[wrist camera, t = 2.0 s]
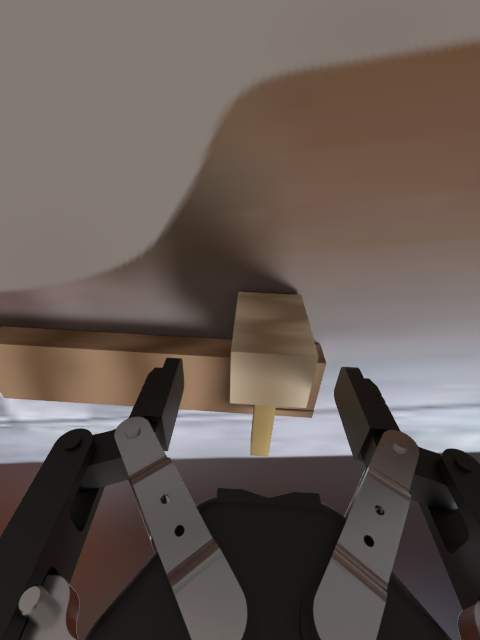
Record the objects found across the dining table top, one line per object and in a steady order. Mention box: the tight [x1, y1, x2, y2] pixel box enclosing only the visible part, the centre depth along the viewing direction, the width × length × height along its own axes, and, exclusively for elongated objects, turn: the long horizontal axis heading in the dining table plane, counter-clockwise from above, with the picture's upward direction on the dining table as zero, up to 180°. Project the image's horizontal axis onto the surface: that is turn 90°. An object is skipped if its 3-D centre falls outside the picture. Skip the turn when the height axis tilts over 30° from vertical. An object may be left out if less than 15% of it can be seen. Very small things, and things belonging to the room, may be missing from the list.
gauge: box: [230, 292, 319, 456], centre depth 18 cm, size 4×10×6 cm, turn 178°
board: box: [0, 326, 326, 418], centre depth 21 cm, size 24×6×2 cm, turn 88°
